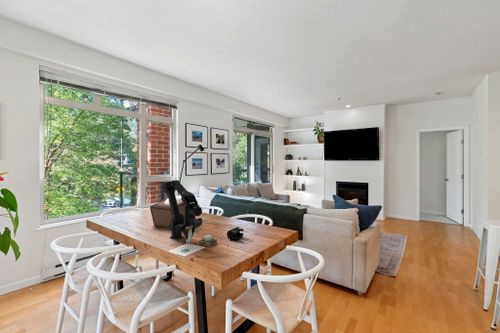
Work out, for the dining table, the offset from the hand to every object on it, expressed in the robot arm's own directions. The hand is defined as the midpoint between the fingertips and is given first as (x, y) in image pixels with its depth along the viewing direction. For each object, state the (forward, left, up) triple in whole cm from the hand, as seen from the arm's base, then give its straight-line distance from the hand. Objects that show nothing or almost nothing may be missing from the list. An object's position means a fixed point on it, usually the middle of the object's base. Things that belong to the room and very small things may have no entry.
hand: (189, 238), depth 150 cm
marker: (0, 0, -2) cm, 2 cm away
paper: (+8, -10, -2) cm, 13 cm away
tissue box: (-43, +26, -3) cm, 50 cm away
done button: (+12, +4, -1) cm, 13 cm away
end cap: (+21, +21, -3) cm, 30 cm away
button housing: (+12, +4, -2) cm, 13 cm away
